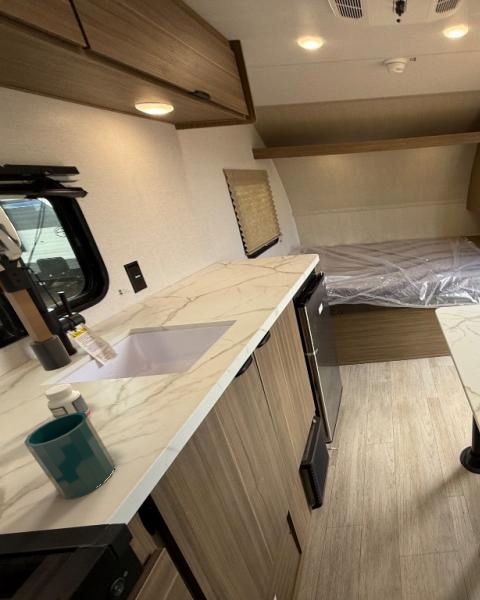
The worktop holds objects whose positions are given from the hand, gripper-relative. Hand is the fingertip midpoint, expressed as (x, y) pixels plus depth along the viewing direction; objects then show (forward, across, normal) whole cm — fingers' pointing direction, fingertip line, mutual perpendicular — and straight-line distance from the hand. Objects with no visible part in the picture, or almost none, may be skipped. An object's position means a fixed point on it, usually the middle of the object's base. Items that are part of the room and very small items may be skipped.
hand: (13, 289), depth 58 cm
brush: (+17, 0, 0) cm, 17 cm away
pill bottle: (+32, -6, +1) cm, 33 cm away
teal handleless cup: (+32, +15, -11) cm, 37 cm away
